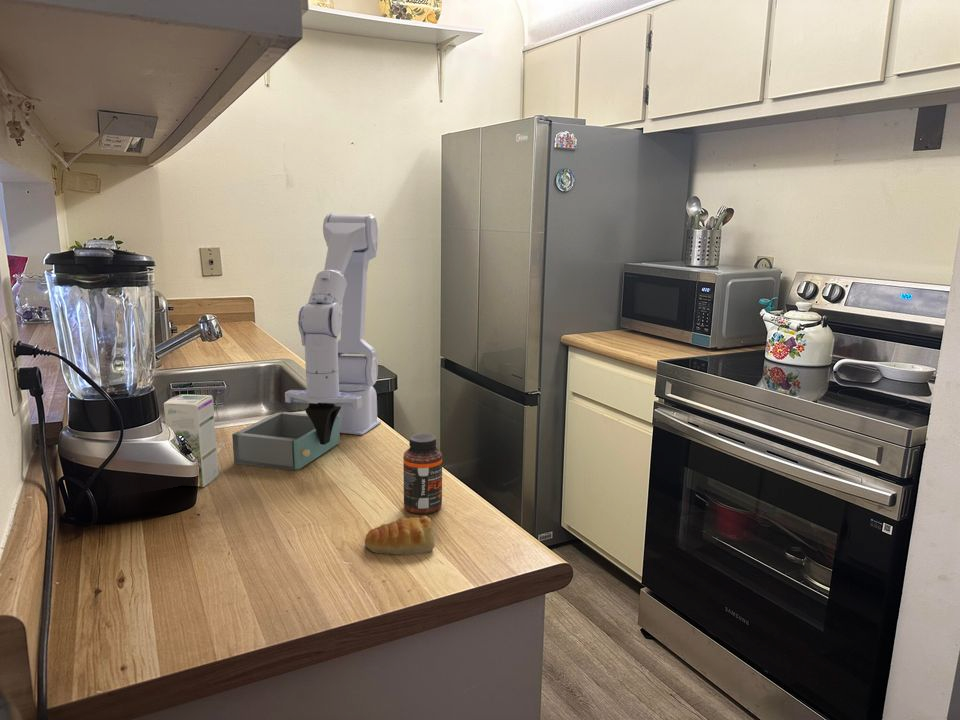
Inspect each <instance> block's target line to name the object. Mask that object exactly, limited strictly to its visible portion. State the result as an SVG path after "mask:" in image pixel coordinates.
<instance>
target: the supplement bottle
mask: <svg viewBox="0 0 960 720" xmlns="http://www.w3.org/2000/svg"><path fill="white" fill-rule="evenodd" d="M408 445H409V448H408V449H406V450H405V451H404V452H403V462H402V463H403V465H402V467H403V506H404V508H405V510H407V511H408V512H410V513H413V514H417V515H419V514H420V515H426V514H432V513H435V512H437V511H438V510H439V509H441V507H442V504H443V453H442V452H441V450H440V449H438V447H437V437H436V436H435V435H434V434H429V433H417V434H413V435H411V436H410V437H409V444H408Z"/></svg>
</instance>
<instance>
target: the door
mask: <svg viewBox="0 0 960 720" xmlns="http://www.w3.org/2000/svg"><path fill="white" fill-rule="evenodd" d="M340 436H341V435H340V430H339V417H338V416H337V417H336V419H335V422H334V425H333V428H332V432H331V437H330V442H328V443H327V444H325V445H322V444H320V442H319V438H318V435H317V432H316V429H314V430H312V431H310V432H309V433H307V434H305V435H303V436H302V437H300V438H298V439H296V440H295V441H294V460H295V469H296V470H301V469H302V468H303V467H305V466H306V465H308V464H309V463H311V462H313V461H314V460H316V459H317V458H319V457H320V456H322V455H323V454H325V453H326V452H328V451H329V450H331V449H333V448H334V447H335V446H337V445H338V444H340V443H341V437H340Z"/></svg>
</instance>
